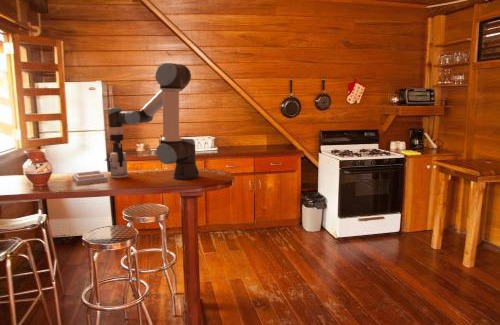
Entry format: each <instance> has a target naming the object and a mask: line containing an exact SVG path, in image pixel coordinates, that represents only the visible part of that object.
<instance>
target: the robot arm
mask: <svg viewBox="0 0 500 325" xmlns="http://www.w3.org/2000/svg"><path fill="white" fill-rule="evenodd" d="M154 74H155V75H154V77H155V80H156V82H157V84H158V85H159V89H160V90H159V91H158V92H157V93H156V94H155V95H154V96H153V97H152V98H151V99H150V100H149V101H148V102H147V103H146V104H145V105H144V106H143V107H142V108H141V109H140V110H126V111H125V110H124V111H123V110H122V108H121V107H109V108H108V111H107V112H108V114H107V116H108V125H109V127H108V131H109V140H110V141H111V142H112V153H113V152H117V154H118V161H117V162H118V170H119V173H121V172H124V170H123V161H124V158H123V152H124V150H123V144H122V143H121V142H123V141H124V139H125V138H124V127H123V125H137V124H145V123H146V124H148V123H150V122H152V121H153V119H154V115H156V113H158V112H159V111H160V110H161V109H162V137H161V138H160V141H159V142H160V144H158V146H157V147H156V149H155V155H156V157H157V159H158V160H159V161H160V162H161V163H162V164H164V165H173V164H175V167H174V171H173V173H172V174H173V176H172V178H173V179H175V180H186V181H187V180H194V179H198V178H200V172H199V169H198V165H197V161H196V160H197V158H196V141H195V140H194V139H193V138H181V137H180V92H182V91H183V90H184V89H185V88H186V87H188V85H189V84H190V82H191V79H192V73H191V70H190V69H189V68H188V66H186V65H184V64H182V63H181V64H179V63H172V62H165V63H162V64H160V65H159V66H158V67H157V68H156V70H155V73H154Z"/></svg>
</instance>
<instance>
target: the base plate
mask: <svg viewBox="0 0 500 325" xmlns="http://www.w3.org/2000/svg"><path fill="white" fill-rule="evenodd" d="M71 178H72V180H73V182H74V183H75V184H76V186H81V185H89V184H90V183H92V184H99V183H98V182H100V183H107V182H108V176H106V175H105V173H103V172H102V171H101V170H93V171H92V170H91V171H82V172H74V174H72V175H71ZM90 185H91V184H90Z"/></svg>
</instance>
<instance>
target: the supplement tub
mask: <svg viewBox="0 0 500 325" xmlns="http://www.w3.org/2000/svg"><path fill="white" fill-rule="evenodd" d="M127 157H128V156H127V152H125V151H123V158H124V161H123V170H124V172H121V173H119V170H118V162H117V161H118V154H117V152H113V151H112V152H110V153H109V165H110V166H109V168H110V176H111V178H112V179H122V178H127V177H128V160H127V159H128V158H127Z"/></svg>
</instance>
